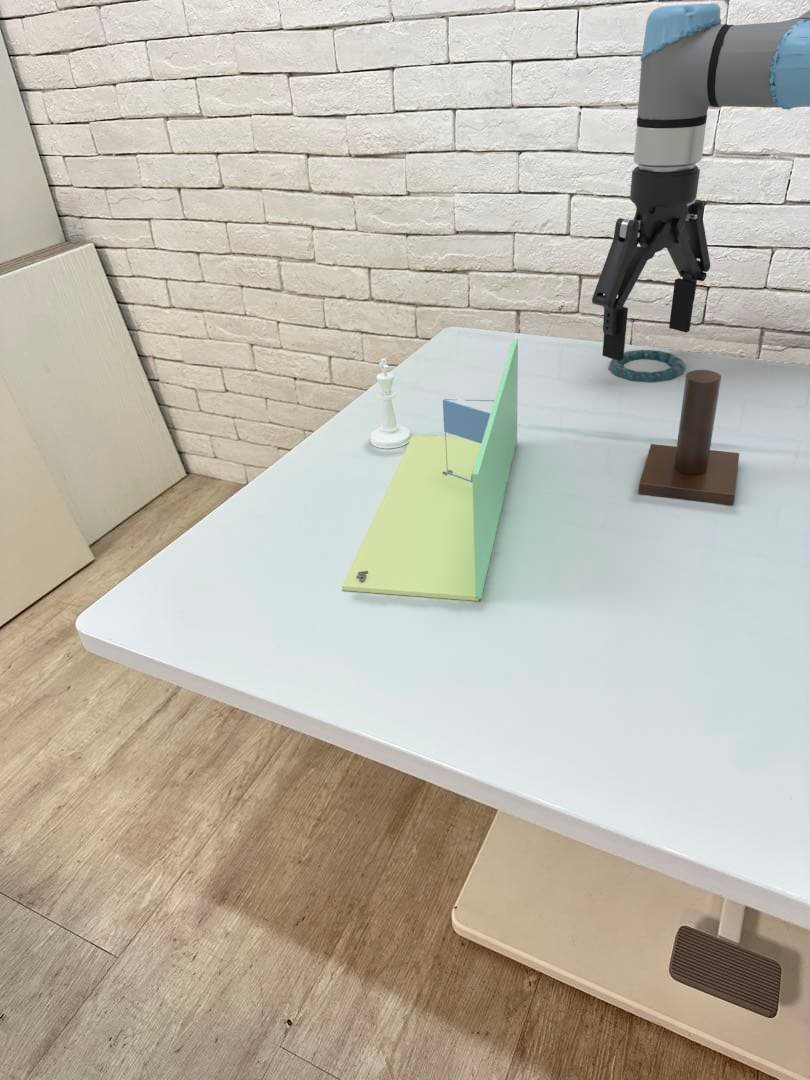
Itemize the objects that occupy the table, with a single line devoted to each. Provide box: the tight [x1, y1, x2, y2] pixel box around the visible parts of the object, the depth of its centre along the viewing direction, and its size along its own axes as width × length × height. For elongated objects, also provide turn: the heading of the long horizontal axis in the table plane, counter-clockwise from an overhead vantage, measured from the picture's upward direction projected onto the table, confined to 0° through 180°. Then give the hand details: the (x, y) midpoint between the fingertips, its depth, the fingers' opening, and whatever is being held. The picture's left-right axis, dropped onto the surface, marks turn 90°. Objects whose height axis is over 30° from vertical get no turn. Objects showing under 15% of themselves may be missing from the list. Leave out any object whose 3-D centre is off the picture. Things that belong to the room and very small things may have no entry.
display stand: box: [341, 337, 519, 602], centre depth 78 cm, size 30×12×12 cm, turn 167°
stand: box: [637, 369, 740, 506], centre depth 79 cm, size 9×9×11 cm
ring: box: [607, 349, 686, 384], centre depth 105 cm, size 10×10×2 cm
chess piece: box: [369, 357, 412, 450], centre depth 92 cm, size 5×5×10 cm
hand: (646, 343), depth 104 cm, fingers open, 13 cm apart
